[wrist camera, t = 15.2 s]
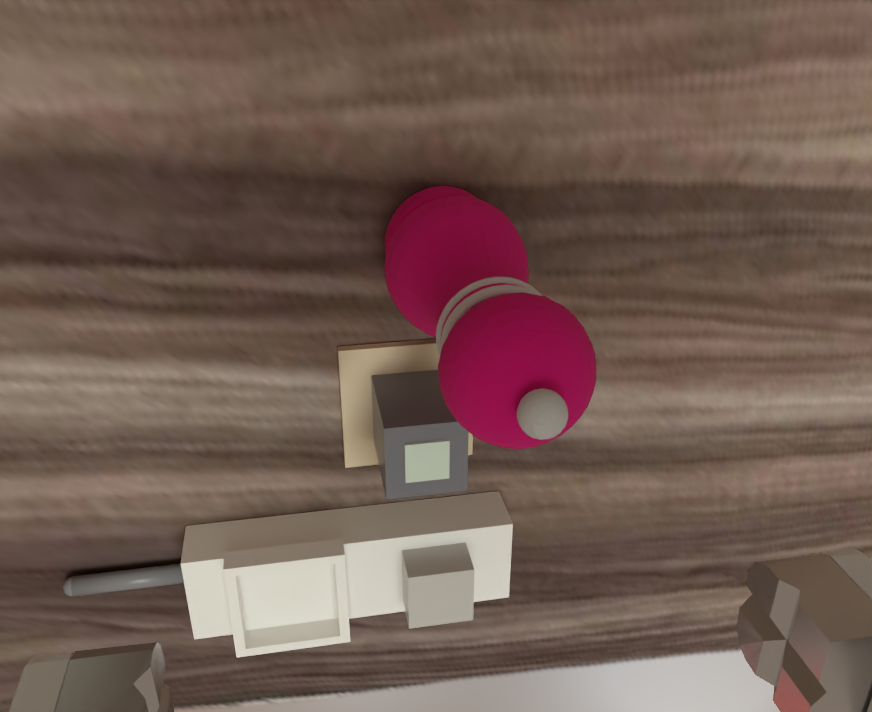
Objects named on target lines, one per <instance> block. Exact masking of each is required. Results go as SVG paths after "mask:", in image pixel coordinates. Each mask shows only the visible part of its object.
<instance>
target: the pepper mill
mask: <svg viewBox="0 0 872 712" xmlns="http://www.w3.org/2000/svg"><path fill="white" fill-rule="evenodd" d="M385 253H386V258H385V279H386V283H387V287H388V291H389V293H390V295H391V297H392V299H393V301H394V303H395V304H396V306H397V308H398V309H399V311H400V312H401V313H402V314H403V316H404V317H405V318H406V319H407V320H408V321H409V322H410V323H412V324H413V325H414V326H415V327H417V328H419V329H420V330H422V331H424V332H425V333H427V334H429V335H431V336H434V337H436V345H437V350H438V353H439V356H440V359H439V363H438V374H439V384H440V388H441V392H442V395H443V398H444V401H445V403H446V405H447V407H448V408H449V410H450V412H451V413H452V415H453V416H454V417H455V419H456V420H457V421H458V423H459V424H460V425H461V426H462V427H463V428H464V429H466V430H467V431H468V432H469V433H471V434H472V435H474V436H475V437H477V438H478V439H480V440H482V441H484V442H486V443H489V444H492V445H496V446H499V447H503V448H512V449H522V448H530V447H535V446H538V445H541V444H544V443H547V442H549V441H551V440H553V439H555V438H557V437H559V436H560V435H562V434H563V433H564V432H566V431H567V430H568V429H569V428H571V427H572V426H573V425H574V424H575V422H576V421H577V420H578V419H579V418H580V417H581V415H582V414H583V412H584V411H585V409H586V408H587V406H588V404H589V402H590V399H591V396H592V394H593V391H594V387H595V382H596V359H595V353H594V350H593V346H592V343H591V341H590V339H589V337H588V335H587V333H586V331H585V329H584V327H583V326H582V325H581V324H580V322H579V321H578V320H577V318H576V317H575V316H574V315H573V314H572V313H571V312H570V311H568V310H567V309H566V308H565V307H564V306H562V305H560V304H558V303H556V302H554V301H552V300H550V299H548V298H547V297H545V296H542V295H541V294H540V293H539V292H538V291H537V290H536V289H535V288H533V287H532V286H531V285H529V284H527V283H528V274H529V272H528V259H527V253H526V250H525V246H524V243H523V241H522V239H521V237H520V235H519V234H518V232H517V230H516V228H515V226H514V225H513V223H512V222H511V221H510V219H509V218H508V217H507V216H506V215H505V214H504V213H503V212H502V211H501V210H499V209H498V208H496V207H494V206H493V205H491V204H489V203H487V202H485V201H482V200H480V199H478V198H477V197H475V196H474V195H472V194H471V193H469V192H467V191H465V190H463V189H460V188H456V187H450V186H436V187H431V188H426V189H424V190H421V191H419V192H417V193H415V194H413V195H412V196H410V197H409V198H407V199H406V200H405V201H404V202H403V203H402V204H401V205H400V206H399V207H398V208H397V210H396V211H395V212H394V214H393V215H392V217H391V219H390V222H389V224H388V226H387V230H386V234H385Z"/></svg>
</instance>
